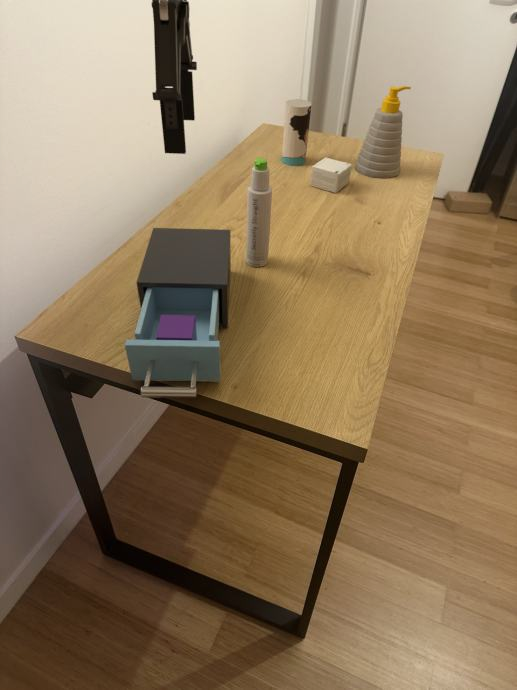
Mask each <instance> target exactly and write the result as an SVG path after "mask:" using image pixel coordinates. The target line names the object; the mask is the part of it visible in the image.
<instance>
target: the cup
mask: <svg viewBox="0 0 517 690" xmlns="http://www.w3.org/2000/svg"><path fill="white" fill-rule="evenodd" d="M312 105H313V104H312V102H311V101H308V100H306V99H299V98H298V99H297V98H296V99H295V98H294V99H288V100H286V101H285V110H284V121H283V122H284V124H283V137H282V148H281V149H282V150H281V162H282V163H283V164H284V165H287V166H291V167H293V166H294V167H297V166H302V165H304V164H306V160H307V151H308V143H309V142H308V141H309V132H310V123H311V115H312Z"/></svg>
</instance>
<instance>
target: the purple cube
mask: <svg viewBox="0 0 517 690" xmlns="http://www.w3.org/2000/svg"><path fill="white" fill-rule="evenodd" d="M156 340H191V341H197V331H196V318H195V316H192V315H161V318H160V322H159V326H158V331H157V335H156Z"/></svg>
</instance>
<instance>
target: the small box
mask: <svg viewBox="0 0 517 690" xmlns="http://www.w3.org/2000/svg"><path fill="white" fill-rule="evenodd" d="M352 167H353V164H352V163H349V162H345V161H342V160H337V159H333V158H331V157H325V156H324V158H322V159H321V160H319V161H318V162H316V163H315V164H313V165H312V166H311V172H310V180H309V186H310V187H313V188H317V189H319V190H323V191H327V192H330V193H333V194H338V192H340V191H341V190H342V189H343V188H344V187H346V186H347V185H348V184H349V183H350V178H351V173H352Z"/></svg>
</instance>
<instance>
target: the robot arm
mask: <svg viewBox="0 0 517 690" xmlns="http://www.w3.org/2000/svg"><path fill="white" fill-rule="evenodd" d="M151 9H152V17H153V19H152V20H153V36H154V37H153V40H154V68H155V69H154V71H155V72H154V73H155V74H154V75H155V91H153V92H152V100H153V101H159V107H160V117H161V127H162V129H161V130H162V139H163V148H164V154H173V155H174V154H176V155H185V154H187V145H186V131H185V121H193V122H194V121H195V120H196V118H195V114H196V113H195V98H194V97H195V96H194V79H193V71H197V70H198V63H197V61H193V60H194V55H193V49H192V39H191V29H190V28H191V25H190V24H191V22H190V3H189V1H188V0H151Z"/></svg>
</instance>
